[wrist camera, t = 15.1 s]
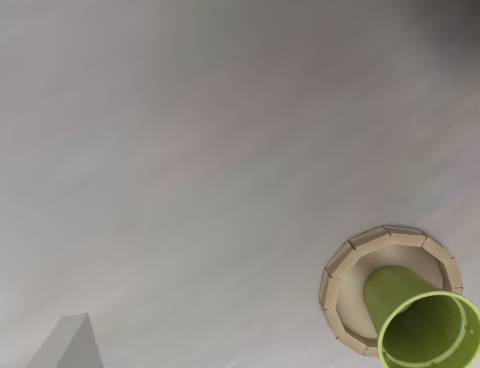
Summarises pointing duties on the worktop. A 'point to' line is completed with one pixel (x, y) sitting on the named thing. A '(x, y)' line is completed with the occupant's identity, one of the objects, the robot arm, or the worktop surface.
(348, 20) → the worktop surface
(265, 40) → the worktop surface
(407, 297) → the plant pot
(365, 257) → the round wooden tray
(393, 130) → the worktop surface
